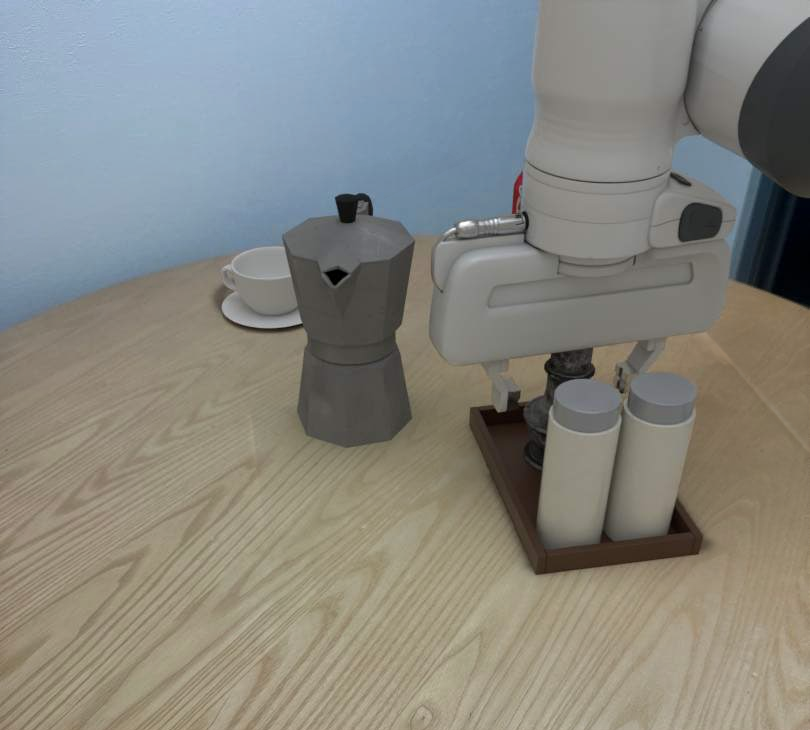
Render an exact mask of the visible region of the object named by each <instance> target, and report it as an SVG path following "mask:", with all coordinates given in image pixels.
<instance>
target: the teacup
mask: <svg viewBox="0 0 810 730" xmlns="http://www.w3.org/2000/svg"><path fill="white" fill-rule="evenodd" d="M228 272H229V273H230V274H231V275H232V278H233V281H232V280H231V279H230V278H229V276H228ZM220 278H221V281H222V283H223V284H224V286H225V287H226V288H227V289H229V290H232V291H233V292H231V293H230V294H229V295H227V296H226V297H225V298H224V300H223V301H222V304H221V311H222V313H223V315H224V316H225V317H226V318H227V319H228V320H230V321H232V322H234V323H235V324H239V325H242V326H246V327H251V328H257V329H278V328H279V329H280V328H287V327H292V326H297V325H300V324H302V321H301V318H300V313H299V309H298V305H297V300H296V296H295V291H294V287H293V283H292V278H291V274H290V269H289V265H288V261H287V256H286V252H285V247H284V246H261V247H255V248H252V249H248V250H245V251H243V252H240V253H239V254H237V255H236V256H234V257H233V258H232V260H231V262H230V264H229V263H228V264H226V265H224V266H223V267H222V268H221V270H220Z"/></svg>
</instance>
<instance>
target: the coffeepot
mask: <svg viewBox="0 0 810 730" xmlns="http://www.w3.org/2000/svg"><path fill="white" fill-rule="evenodd" d="M334 200H335V205H336V210H337V214H335V215H324V216H317V217H309V218H307V219H306V220H304V221H302V222H301V223H299V224H297V225H296V226H294V227H292V228H291V229H289V230H288V231H286V232H284V233H282V234H281V238H282V242H283V243H282V244H283V247H285V252H286V256H287V261H288V265H289V269H290V274H291V278H292V283H293V287H294V291H295V296H296V300H297V305H298V309H299V313H300V318H301V321H302V323H301V324H302V326H303V328H304V330H305V332H306V340H307V341H306V342H307V344H306V345H305V346H304V348H303V357H302V365H301V375H300V383H299V393H298V402H297V411H296V413H297V415H298V417H299V420H300V423H301V426H302V428H303V430H304V433H305V435H306V436H307V437H310V438H313V439H317V440H320V441H323V442H325V443H329V444H331V445H336V446H339V447H341V448H345V449H348V448H352V447H360V446H366V445H371V444H378V443H383V442H389V441H392V440H393V439H394V438H395V437H396V436H397V435H398V434H399V432H401V431H402V430H403V429H404V427H406V426H407V424H408V423H410V421H411V420H412V419H413V415H412V409H411V405H410V400H409V393H408V388H407V383H406V382H407V381H406V376H405V372H404V371H405V370H404V365H403V360H402V354H401V351H400V348H399V346H398V344H397V342H396V341H397V339H396V338H397V337H396V335H397V333H396V331H397V330H398V329H399V328H400V327H401V326H402V325H403V319H404V312H405V306H406V301H407V300H406V299H407V294H408V287H409V281H410V275H411V271H412V270H411V268H412V263H413V257H414V250H415V244H416V240H415V238H414V237H413V236H412V235H411V234H410V233H411V232H409V231H408V229H407V228H406V227H405V226H404V224H403V222H401V221H398V220H393V219H389V218H384V217H380V216H375V215H374V206H373V201H372V198H371V197H370V195H368V194H366V193H365V192H359V193H356V194H353V193H341V194H338V195H336V196H335V197H334Z"/></svg>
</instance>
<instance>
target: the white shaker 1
mask: <svg viewBox="0 0 810 730" xmlns="http://www.w3.org/2000/svg"><path fill="white" fill-rule="evenodd" d="M622 400H623V397H622V394H621V393H620V392H619V389H616V388H615V386H614V385H611V384H609V383H607V382H605V381H602V380H597V379H592V378H590V379H574V380H569V381H566V382H564V383H562V384H560V385H559V386H558V387H557V388H556V390H555V393H554V401H553V405H552V406H551V408H550V410H549V416H548V424H547V433H546V441H545V450H544V458H543V467H542V475H541V484H540V493H539V501H538V510H537V518H536V527H535V531H536V534H537V536H538V538H539V540H540V542H541V544H542V546H543V549H545V550H549V549H557V548H565V547H573V546H582V545H590V544H598V543H600V541H601V535H602V530H603V524H604V518H605V512H606V507H607V501H608V495H609V490H610V484H611V478H612V473H613V467H614V461H615V456H616V450H617V444H618V438H619V433H620V427H621V421H622V417H621V414H622V413H621V408H622V407H621V406H622Z"/></svg>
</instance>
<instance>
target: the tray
mask: <svg viewBox="0 0 810 730" xmlns="http://www.w3.org/2000/svg"><path fill="white" fill-rule="evenodd" d="M530 401H531V400H530ZM530 401H518V402H519V404H520V405H519V409H518V410H512V411H507V412H499V413H498V412H497V410H496V409H495V407H494V406H493V404H489V405H477V406H470V407H469V421H468V425H469V427H470V429H471V432H472V434H473V436H474V438H475V441H476V444H477V445H478V447H479V450H480V452H481V454H482V456H483V459H484V461H485V463H486V466H487V467H488V470H489V472H490V475H491V477H492V479H493V481H494V484H495V486H496V488H497V491H498V493H499V495H500V498H501V499H502V502H503V503H504V506H505V508H506V511H507V513H508V515H509V517H510V519H511V522H512V524H513V526H514V529H515V531H516V533H517V536H518V538H519V540H520V542H521V544H522V545H521V546H522V547H523V549H524V551H525V554H526V556H527V558H528V560H529V563H530V565H531V567H532V569H533V571H534V574H535V575H536V576H539V575H547V574H555V573H563V572H572V571H577V570H578V571H579V570H586V569H587V570H588V569H595V568H601V567H603V568H604V567H610V566H618V565H627V564H635V563H643V562H649V561H650V562H651V561H657V560H665V559H673V558H674V559H675V558H681V557H691V556H696V555H697V556H698V555H699V554H700V551H701V548H702V544H703V540H704V534H703V533H702V532H701V530H700V528H698V526H697V524H696V523H695V521H694V520H693V518H692V517H691V515H690V514H689V512H688V511H687V510H686V508H685V506H684V505H683V504H682V503H681V500H680V499H679V498H678V497H677V498H676V502H675V506H674V510H673V515H672V519H671V523H670V528H669V532H668V535H663V536H655V537H647V538H638V539H630V540H622V541H613V540H611V539H610V538H609V537H608V536H607V535H606V533H605V532H604V530H602V535H601V541H600V543H598V544H590V545H582V546H573V547H565V548H557V549H549V550H545V549H543V546H542V544H541V542H540V540H539V538H538V536H537V534H536V531H535V527H536V518H537V510H538V501H539V493H540V484H541V475H542V471H540V470H537V469H535V468H534V467H532V466H531V465H530V464H529V463H528V462H527V461H526V460H525V457H524V447H525V446H526V444H527V443H528V442H529V441H530V440H532V438H531V436H530V433H529V430H528V428H527V422H526V421H525V418H524V416H523V413H524V408H525V406H526V405H527V403H529V402H530Z"/></svg>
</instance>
